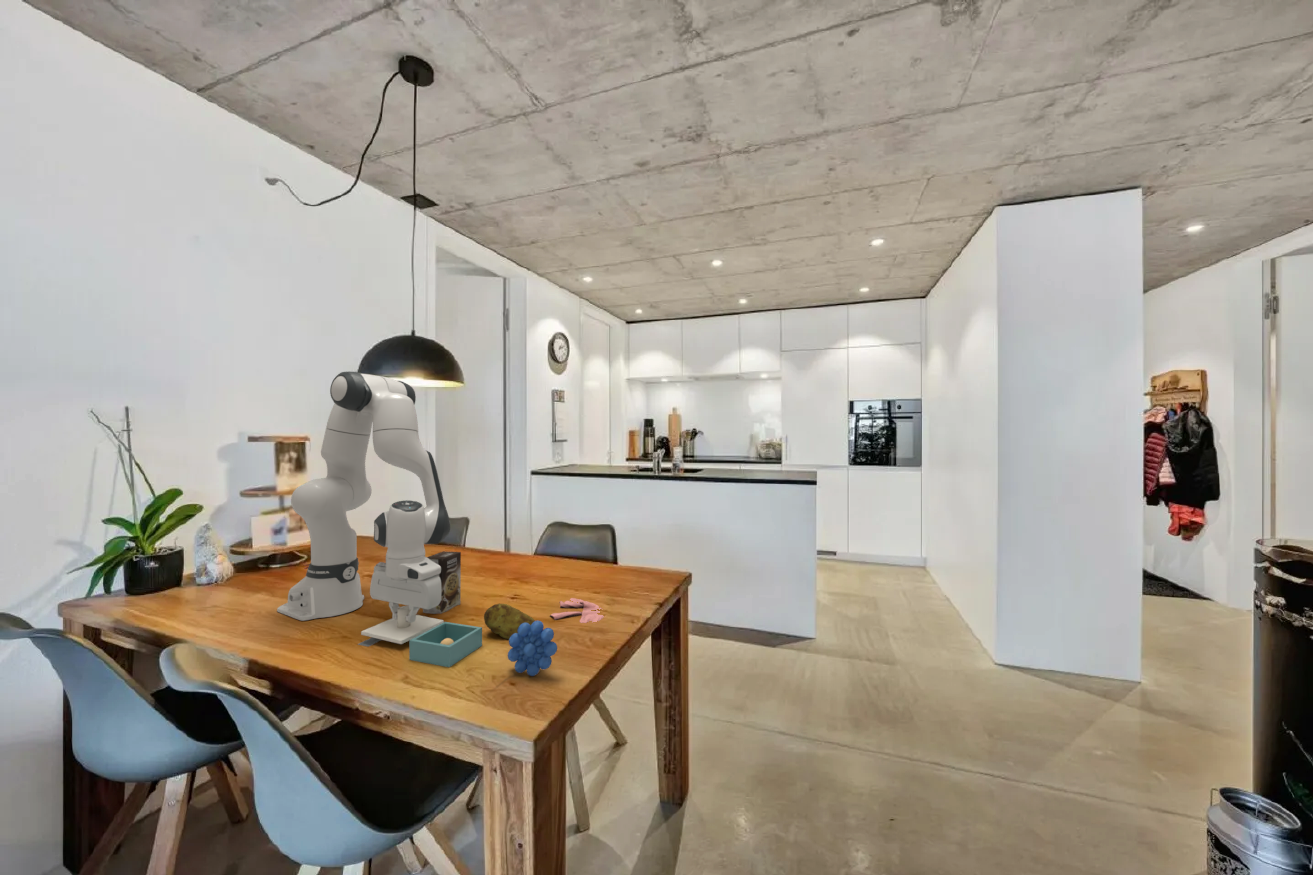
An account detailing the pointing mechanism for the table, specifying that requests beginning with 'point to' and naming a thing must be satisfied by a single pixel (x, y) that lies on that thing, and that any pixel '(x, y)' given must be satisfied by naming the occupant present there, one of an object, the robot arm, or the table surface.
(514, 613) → the potato
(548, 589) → the table surface
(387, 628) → the lid
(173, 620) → the table surface
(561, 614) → the cloth
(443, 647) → the dish
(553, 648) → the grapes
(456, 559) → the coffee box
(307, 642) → the table surface
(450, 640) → the apricot
